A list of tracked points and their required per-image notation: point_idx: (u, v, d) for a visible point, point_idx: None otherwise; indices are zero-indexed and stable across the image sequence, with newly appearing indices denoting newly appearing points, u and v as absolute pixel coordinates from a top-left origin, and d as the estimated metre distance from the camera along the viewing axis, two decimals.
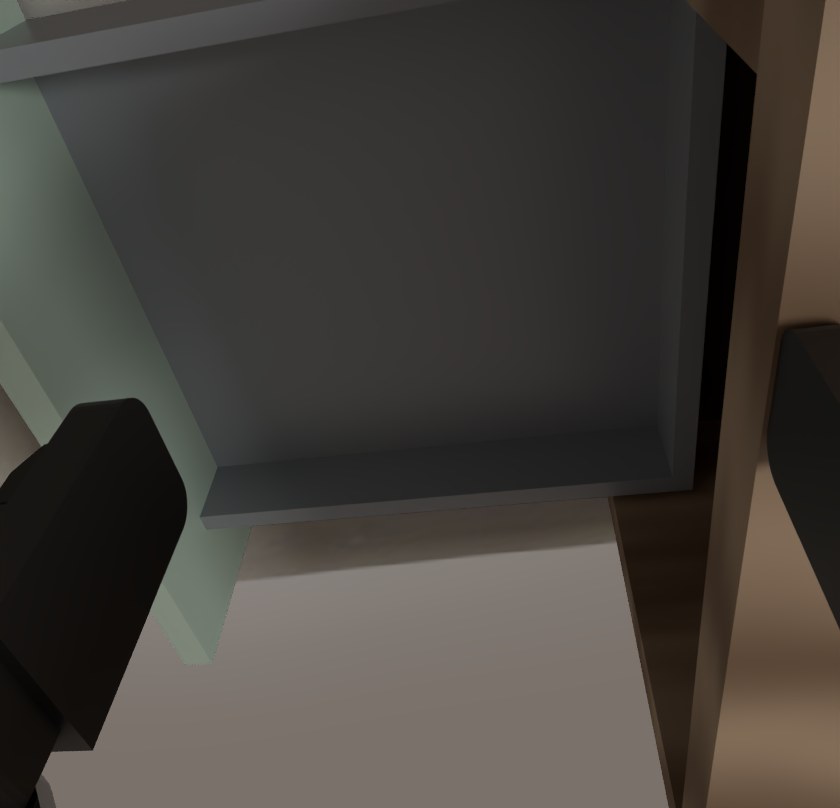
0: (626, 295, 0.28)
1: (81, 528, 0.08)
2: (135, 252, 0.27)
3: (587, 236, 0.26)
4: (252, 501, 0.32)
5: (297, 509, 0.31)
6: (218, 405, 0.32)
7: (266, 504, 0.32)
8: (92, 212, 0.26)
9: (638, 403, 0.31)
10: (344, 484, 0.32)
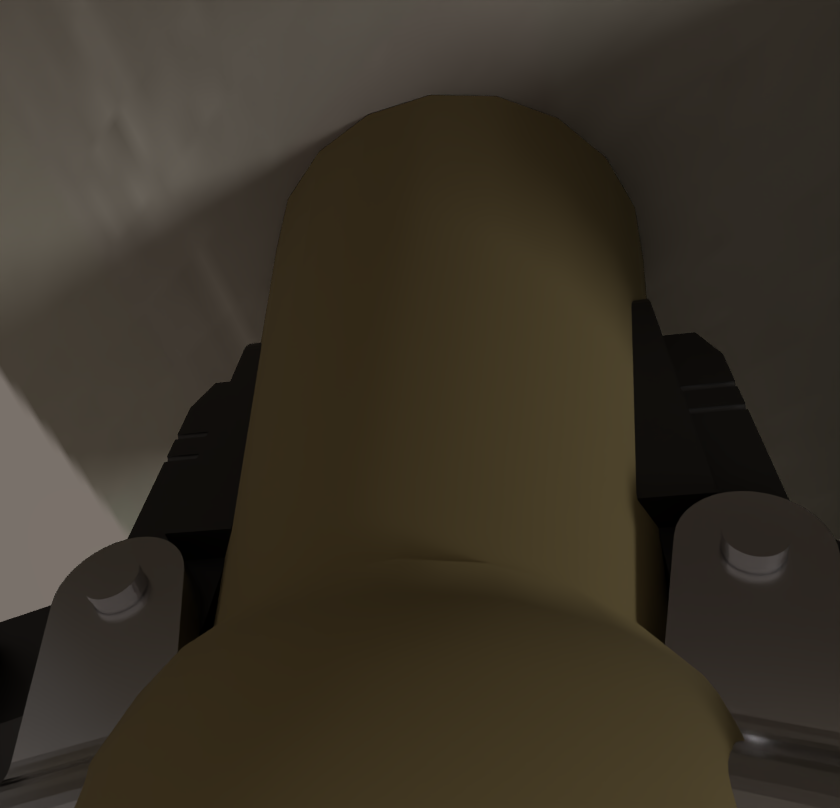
0: None
1: None
2: None
3: None
4: None
5: None
6: None
7: None
8: None
9: None
10: None
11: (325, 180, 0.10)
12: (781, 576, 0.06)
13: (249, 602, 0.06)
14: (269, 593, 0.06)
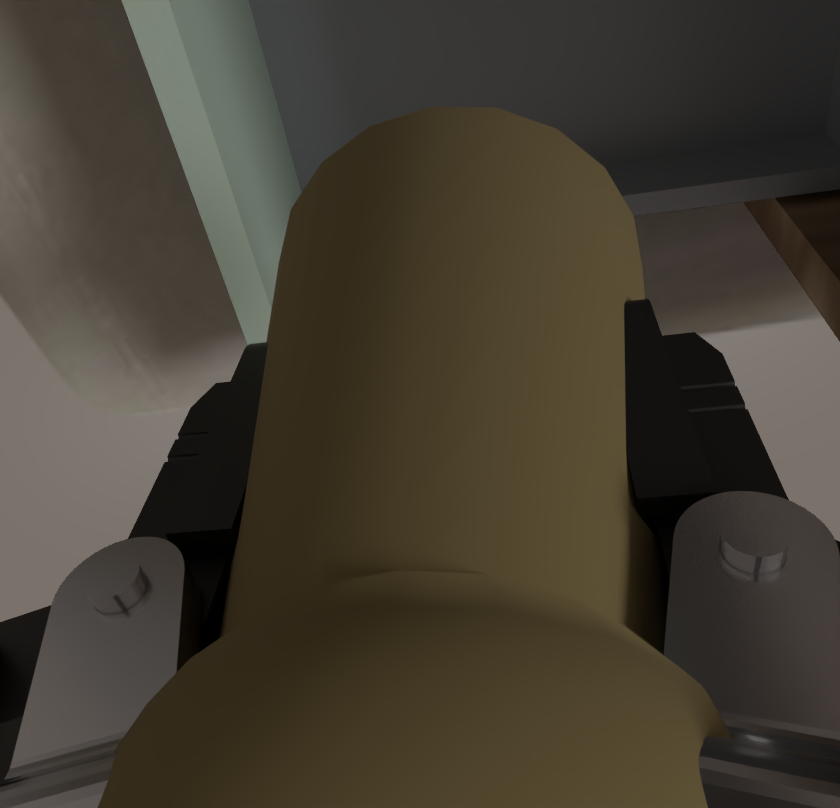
0: None
1: None
2: None
3: None
4: None
5: None
6: (314, 112, 0.28)
7: None
8: None
9: (806, 98, 0.26)
10: None
11: (328, 192, 0.11)
12: (780, 576, 0.06)
13: (255, 613, 0.06)
14: (275, 604, 0.06)
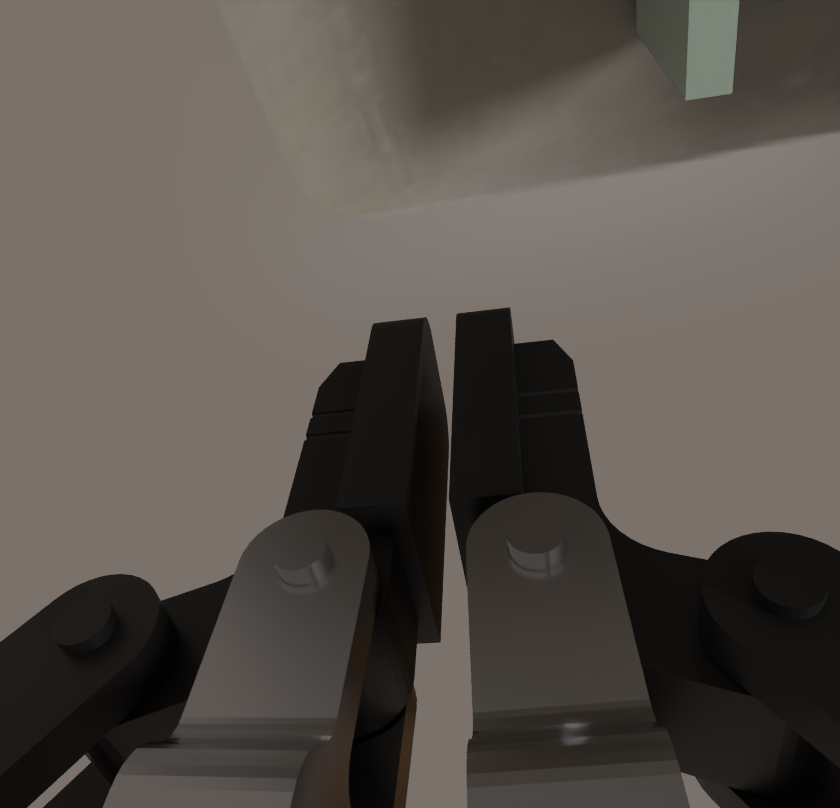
0: None
1: (421, 432, 0.09)
2: None
3: None
4: None
5: None
6: None
7: None
8: None
9: None
10: None
11: None
12: (552, 572, 0.06)
13: None
14: None
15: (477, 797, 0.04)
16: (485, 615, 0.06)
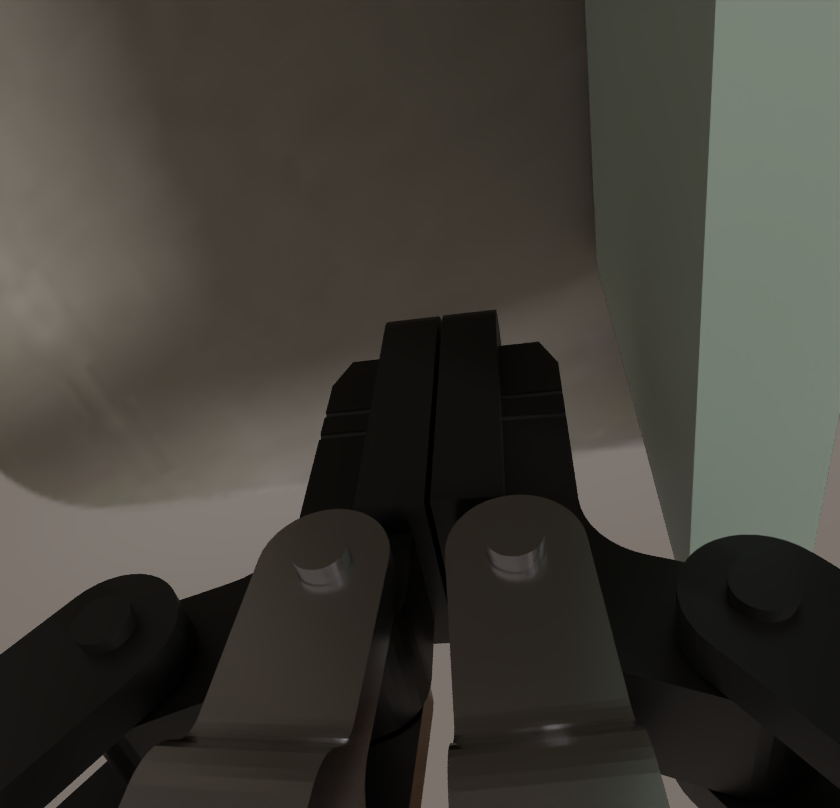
0: None
1: None
2: None
3: None
4: None
5: None
6: None
7: None
8: None
9: None
10: None
11: None
12: (529, 574, 0.06)
13: None
14: None
15: (458, 802, 0.04)
16: (462, 617, 0.06)
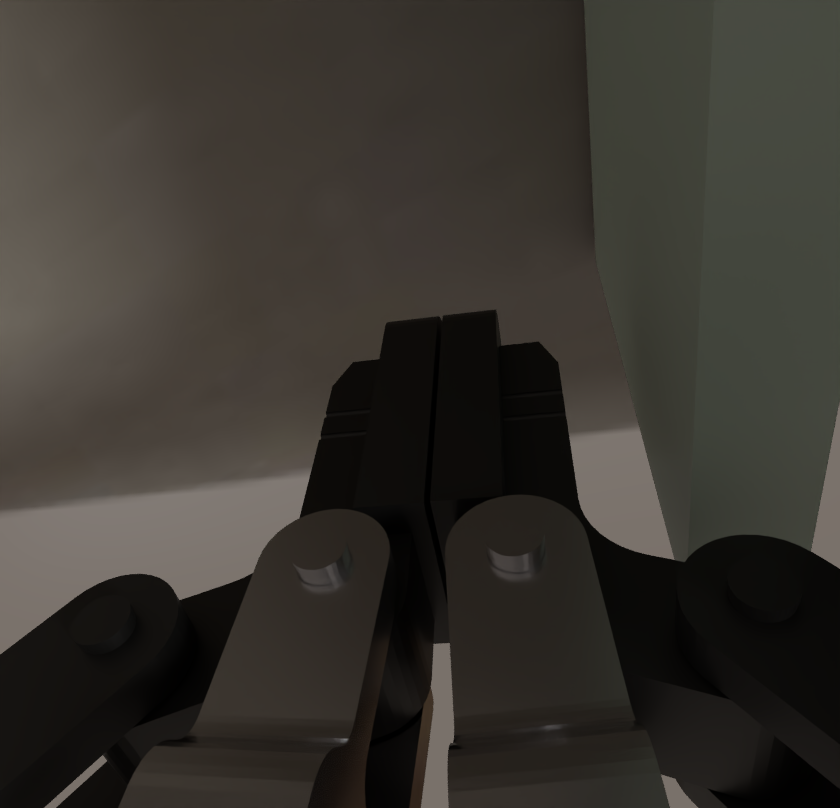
0: None
1: None
2: None
3: None
4: None
5: None
6: None
7: None
8: None
9: None
10: None
11: None
12: (529, 574, 0.06)
13: None
14: None
15: (459, 802, 0.04)
16: (462, 617, 0.06)
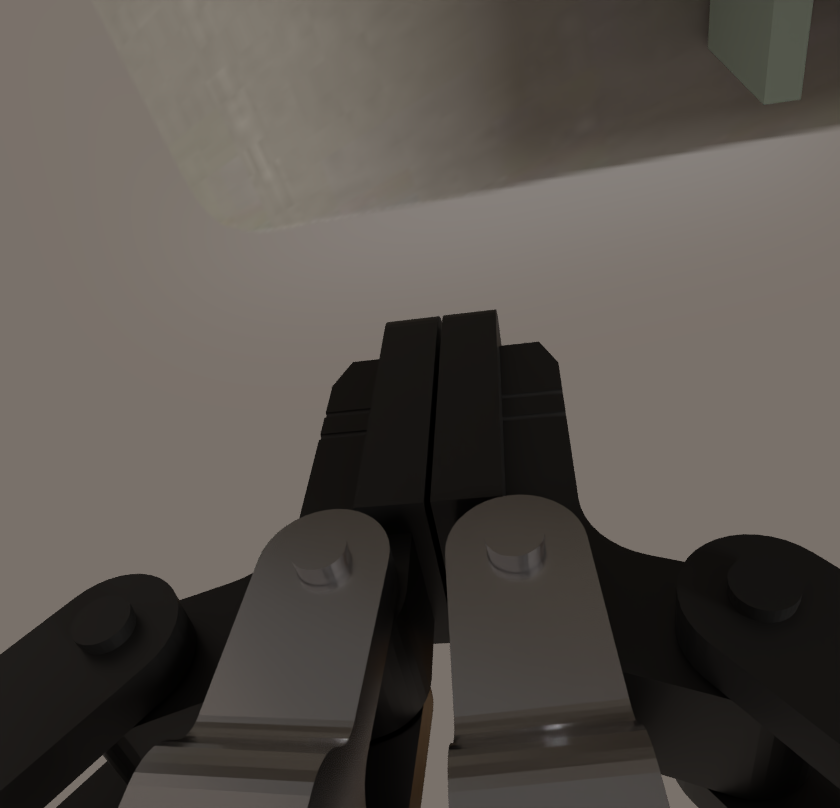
0: None
1: None
2: None
3: None
4: None
5: None
6: None
7: None
8: None
9: None
10: None
11: None
12: (530, 575, 0.06)
13: None
14: None
15: (458, 802, 0.04)
16: (462, 618, 0.06)
